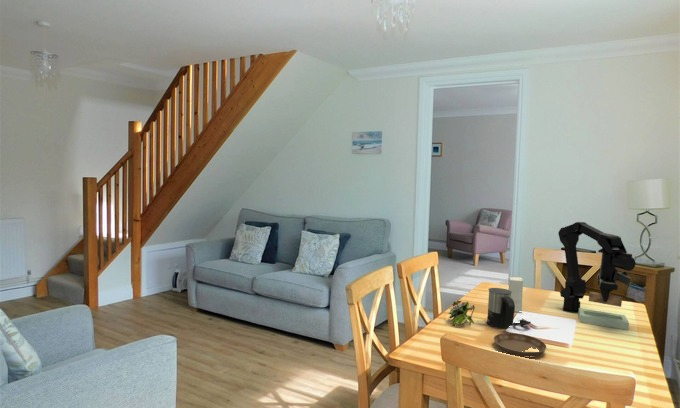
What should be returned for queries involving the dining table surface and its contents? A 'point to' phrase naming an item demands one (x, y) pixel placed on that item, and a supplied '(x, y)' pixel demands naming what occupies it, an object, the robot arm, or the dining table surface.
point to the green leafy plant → (461, 313)
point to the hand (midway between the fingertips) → (604, 300)
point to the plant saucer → (519, 344)
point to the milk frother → (501, 309)
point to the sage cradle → (603, 318)
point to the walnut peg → (611, 300)
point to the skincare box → (516, 292)
